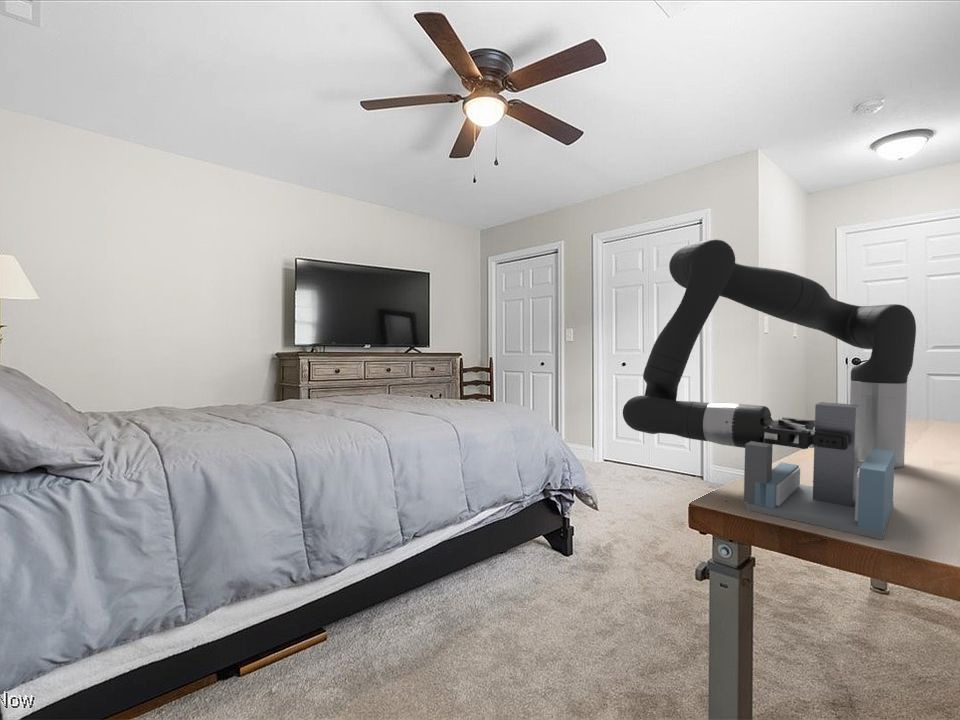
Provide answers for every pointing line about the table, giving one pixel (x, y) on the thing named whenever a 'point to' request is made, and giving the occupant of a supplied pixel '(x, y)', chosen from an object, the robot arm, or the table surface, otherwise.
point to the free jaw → (767, 477)
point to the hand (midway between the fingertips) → (852, 438)
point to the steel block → (836, 454)
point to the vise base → (859, 519)
